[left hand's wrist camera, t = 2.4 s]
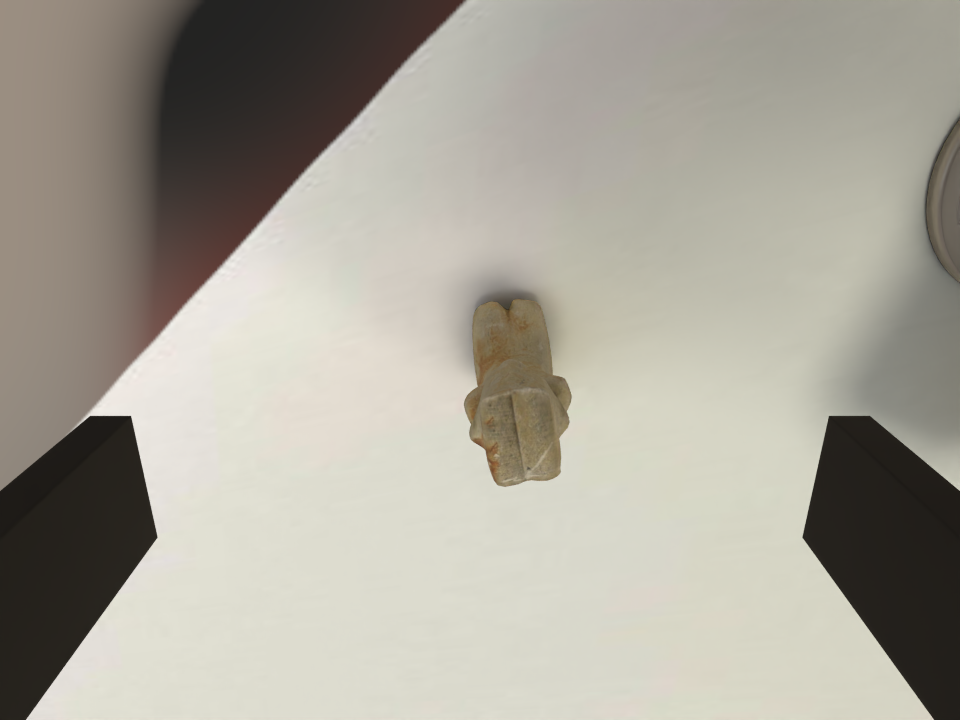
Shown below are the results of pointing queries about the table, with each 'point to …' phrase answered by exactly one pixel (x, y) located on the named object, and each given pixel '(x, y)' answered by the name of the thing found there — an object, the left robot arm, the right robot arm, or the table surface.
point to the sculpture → (516, 394)
